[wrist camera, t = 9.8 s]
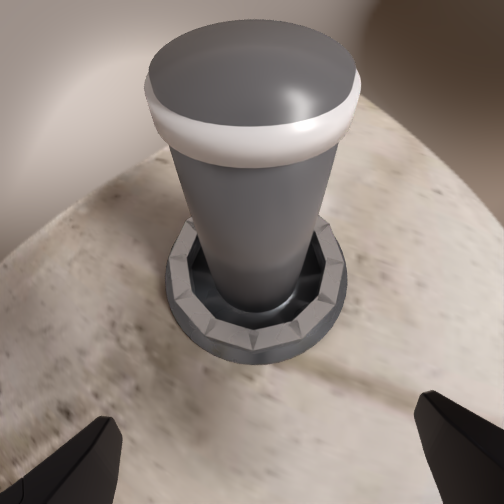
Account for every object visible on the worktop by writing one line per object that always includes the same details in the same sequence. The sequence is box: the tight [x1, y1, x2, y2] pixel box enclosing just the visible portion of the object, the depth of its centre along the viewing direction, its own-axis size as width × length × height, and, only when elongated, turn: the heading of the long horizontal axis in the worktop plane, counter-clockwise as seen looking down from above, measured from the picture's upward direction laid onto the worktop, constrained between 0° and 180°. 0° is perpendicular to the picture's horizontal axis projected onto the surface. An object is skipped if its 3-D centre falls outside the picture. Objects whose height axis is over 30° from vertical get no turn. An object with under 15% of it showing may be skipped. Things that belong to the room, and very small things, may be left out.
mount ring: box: [165, 215, 347, 365], centre depth 18 cm, size 11×11×2 cm
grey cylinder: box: [144, 20, 361, 313], centre depth 12 cm, size 5×5×14 cm
